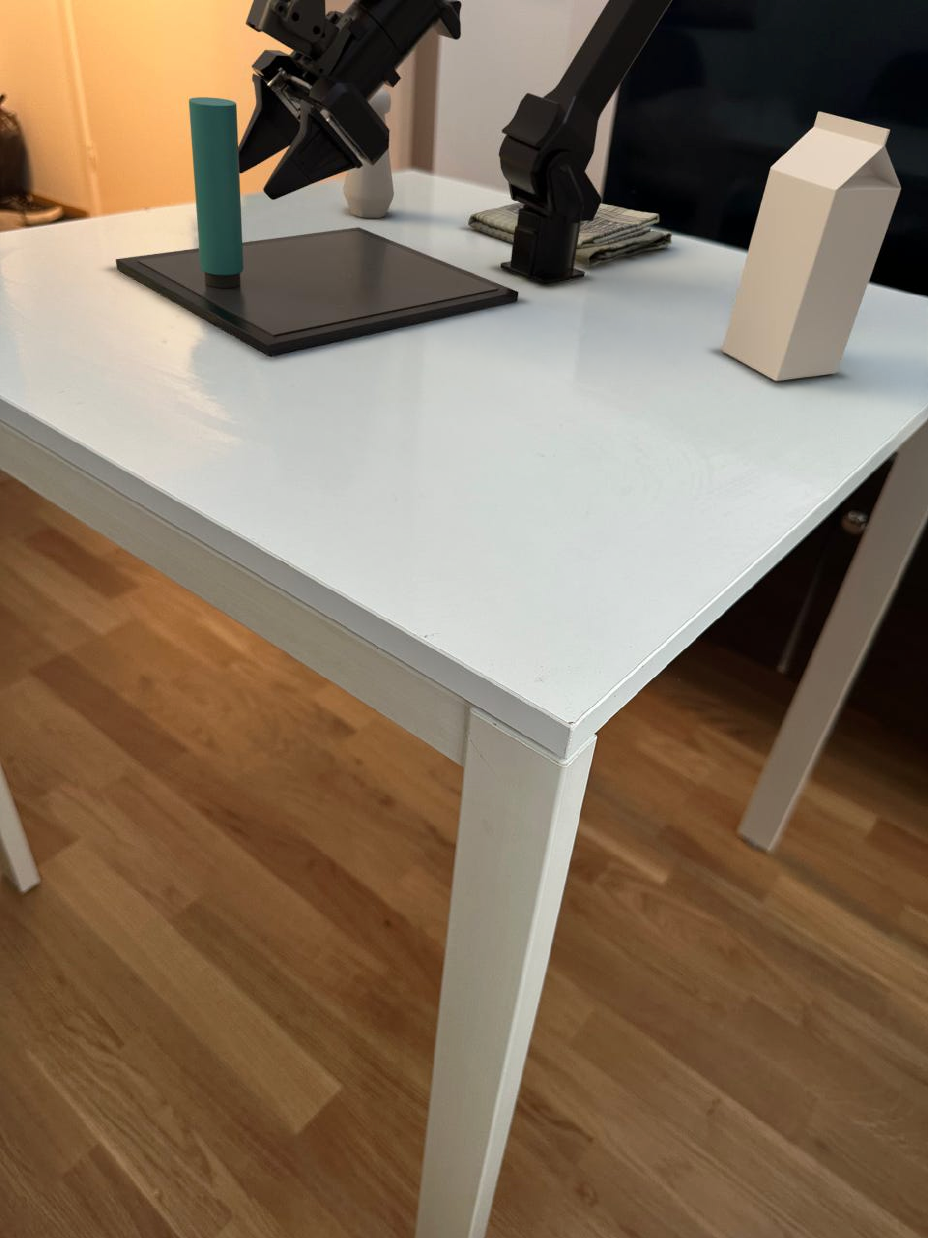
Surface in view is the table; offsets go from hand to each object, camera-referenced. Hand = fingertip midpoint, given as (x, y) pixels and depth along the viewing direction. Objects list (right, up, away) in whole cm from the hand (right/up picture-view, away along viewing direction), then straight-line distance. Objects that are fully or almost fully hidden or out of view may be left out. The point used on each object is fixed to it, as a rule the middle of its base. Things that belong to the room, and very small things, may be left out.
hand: (250, 181), depth 78 cm
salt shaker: (+7, +11, +31) cm, 33 cm away
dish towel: (+30, +8, +31) cm, 44 cm away
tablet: (+5, -6, +8) cm, 11 cm away
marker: (-3, -8, +3) cm, 9 cm away
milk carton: (+45, -15, +3) cm, 48 cm away
